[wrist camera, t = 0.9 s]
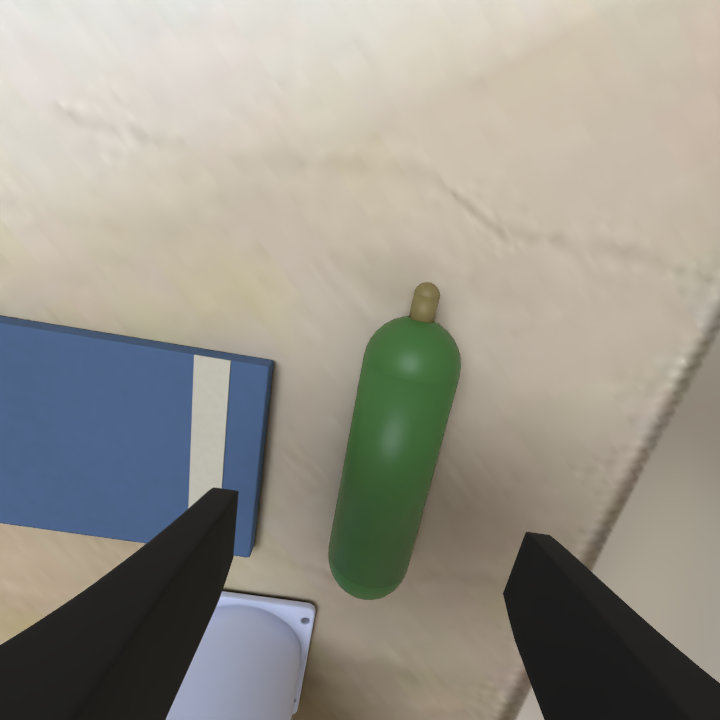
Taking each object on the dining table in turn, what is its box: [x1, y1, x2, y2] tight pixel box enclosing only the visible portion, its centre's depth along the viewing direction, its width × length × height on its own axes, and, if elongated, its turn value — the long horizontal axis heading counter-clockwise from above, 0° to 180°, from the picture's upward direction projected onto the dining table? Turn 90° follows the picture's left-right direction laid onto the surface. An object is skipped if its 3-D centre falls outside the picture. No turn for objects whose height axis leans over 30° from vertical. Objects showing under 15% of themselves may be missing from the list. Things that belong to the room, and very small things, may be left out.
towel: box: [0, 316, 274, 557], centre depth 19 cm, size 11×20×1 cm, turn 80°
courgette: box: [328, 282, 461, 600], centre depth 17 cm, size 15×4×4 cm, turn 170°
